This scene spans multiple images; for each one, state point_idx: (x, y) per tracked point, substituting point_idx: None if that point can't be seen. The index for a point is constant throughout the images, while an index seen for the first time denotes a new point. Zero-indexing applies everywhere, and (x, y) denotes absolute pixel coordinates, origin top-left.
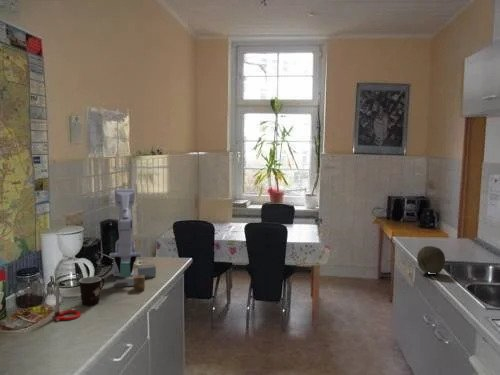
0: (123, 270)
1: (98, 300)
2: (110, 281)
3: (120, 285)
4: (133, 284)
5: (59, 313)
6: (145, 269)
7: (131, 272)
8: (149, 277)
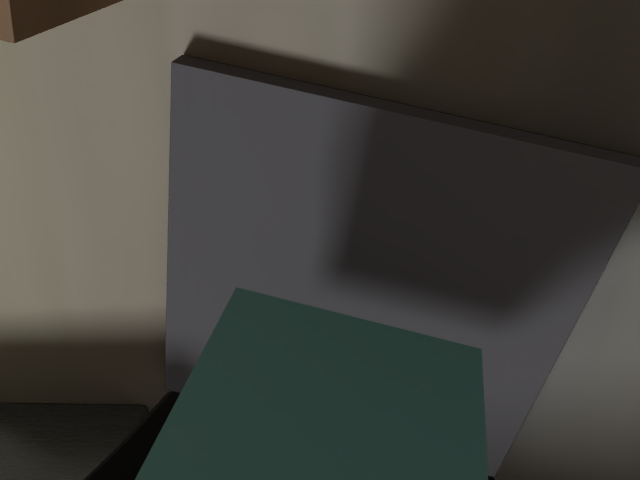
0: (378, 475)
1: None
2: (591, 472)
3: (489, 162)
4: (217, 131)
5: None
6: None
7: (172, 394)
8: (19, 405)
